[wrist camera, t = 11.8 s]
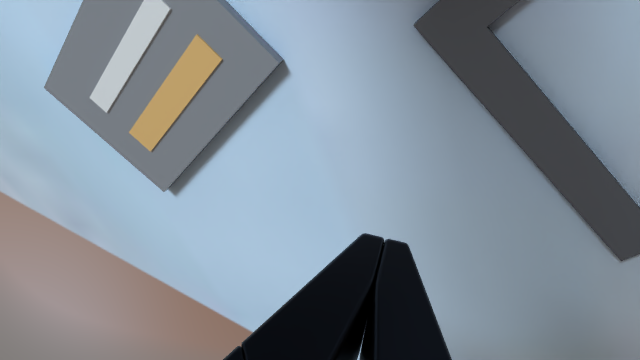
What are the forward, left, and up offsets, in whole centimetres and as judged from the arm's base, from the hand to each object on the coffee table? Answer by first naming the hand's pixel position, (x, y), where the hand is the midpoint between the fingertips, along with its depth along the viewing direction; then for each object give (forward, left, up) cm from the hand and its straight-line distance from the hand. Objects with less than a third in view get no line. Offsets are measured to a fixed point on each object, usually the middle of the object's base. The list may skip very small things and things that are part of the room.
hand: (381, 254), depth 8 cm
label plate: (+11, -9, -13) cm, 19 cm away
